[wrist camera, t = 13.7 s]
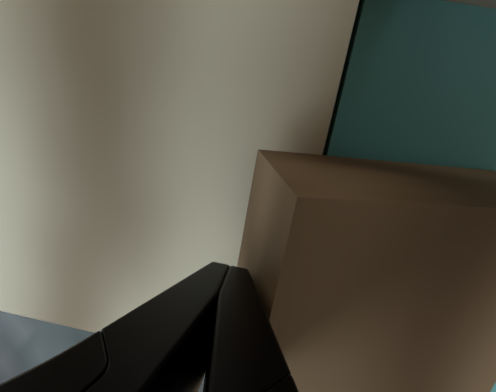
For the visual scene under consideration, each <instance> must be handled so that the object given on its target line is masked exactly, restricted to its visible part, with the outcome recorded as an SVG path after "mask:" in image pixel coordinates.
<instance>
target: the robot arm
mask: <svg viewBox="0 0 496 392" xmlns="http://www.w3.org/2000/svg"><path fill="white" fill-rule="evenodd" d="M205 372H206V373H205ZM204 375H205V379H204V387H203V392H299V391H298V389H297V386H296V384H295V381H294V379H293V377H292V376H291V372H290V370H289V367H288V365H287V362H286V360H285V357H284V355H283V353H282V350H281V348H280V345H279V343H278V341H277V338H276V336H275V333H274V331H273V328H272V326H271V324H270V321H269V319H268V316H267V314H266V311H265V309H264V307H263V304H262V302H261V299H260V297H259V294H258V292H257V290H256V287H255V285H254V282H253V280H252V277H251V275H250V273H249V270H248V269H246V268H242V267H237V266H229V265H227V264H223V263H218V262H211V263H209V264H208V265H206V266H204V267H203V268H201V269H199V270H198V271H196V272H194V273H193V274H191V275H189V276H188V277H186V278H185V279H183V280H181V281H180V282H178V283H176V284H175V285H173V286H171V287H170V288H168V289H167V290H165V291H163V292H162V293H160V294H158V295H157V296H155V297H153V298H152V299H150V300H148V301H147V302H145V303H144V304H142V305H140V306H139V307H137V308H135V309H134V310H132V311H130V312H129V313H127V314H126V315H124V316H122V317H121V318H119V319H117V320H116V321H114V322H112V323H111V324H109V325H107V326H106V327H104V328H103V329H102V330H101V331H97V332H96V333H94V334H92V335H91V336H89V337H87V338H86V339H84V340H83V341H81V342H79V343H77V344H76V345H74V346H72V347H70V348H69V349H67V350H65V351H63V352H62V353H60V354H58V355H57V356H55V357H53V358H51V359H49V360H47V361H45V362H43V363H41V364H39V365H37V366H35V367H33V368H31V369H30V370H28V371H26V372H24V373H22V374H20V375H18V376H16V377H14V378H12V379H10V380H7V381H5V382H3V383H1V384H0V392H198V390H199V387H200V385H201V382H202V380H203V377H204Z"/></svg>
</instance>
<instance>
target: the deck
mask: <svg viewBox="0 0 496 392" xmlns="http://www.w3.org/2000/svg"><path fill="white" fill-rule="evenodd" d="M358 4H359V0H0V311H3V312H8V313H12V314H16V315H21V316H25V317H29V318H34V319H38V320H42V321H47V322H51V323H55V324H60V325H64V326H68V327H73V328H77V329H81V330H86V331H90V332H94V333H96V332H97V331H101V330H102V329H103V328H104V327H106V326H107V325H109V324H111V323H112V322H114V321H116V320H117V319H119V318H121V317H122V316H124V315H126V314H127V313H129V312H130V311H132V310H134V309H135V308H137V307H139V306H140V305H142V304H144V303H145V302H147V301H148V300H150V299H152V298H153V297H155V296H157V295H158V294H160V293H162V292H163V291H165V290H167V289H168V288H170V287H171V286H173V285H175V284H176V283H178V282H180V281H181V280H183V279H185V278H186V277H188V276H189V275H191V274H193V273H194V272H196V271H198V270H199V269H201V268H203V267H204V266H206V265H208V264H209V263H211V262H218V263H223V264H227V265H229V266H237V264H238V258H239V253H240V247H241V241H242V236H243V230H244V225H245V219H246V213H247V208H248V202H249V196H250V191H251V185H252V180H253V174H254V168H255V163H256V157H257V151H258V149H260V150H271V151H282V152H294V153H305V154H316V155H322V154H323V150H324V146H325V142H326V138H327V133H328V129H329V125H330V121H331V117H332V113H333V108H334V104H335V100H336V96H337V92H338V88H339V83H340V79H341V75H342V71H343V67H344V63H345V58H346V54H347V50H348V46H349V42H350V37H351V33H352V29H353V25H354V21H355V17H356V12H357V8H358Z"/></svg>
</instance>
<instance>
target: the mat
mask: <svg viewBox="0 0 496 392" xmlns="http://www.w3.org/2000/svg"><path fill="white" fill-rule="evenodd" d="M323 155H327V156H338V157H349V158H360V159H371V160H382V161H393V162H404V163H416V164H427V165H438V166H449V167H460V168H471V169H482V170H493V171H496V9H494V8H488V7H482V6H475V5H469V4H463V3H457V2H450V1H444V0H360V1H359V5H358V9H357V13H356V17H355V21H354V26H353V30H352V34H351V38H350V42H349V46H348V51H347V55H346V59H345V63H344V67H343V71H342V76H341V80H340V84H339V88H338V92H337V96H336V101H335V105H334V109H333V113H332V117H331V122H330V126H329V130H328V134H327V138H326V142H325V147H324V151H323ZM490 392H496V382H495V384H494V386H493V388H492V390H491V391H490Z"/></svg>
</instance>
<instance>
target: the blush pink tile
mask: <svg viewBox="0 0 496 392" xmlns="http://www.w3.org/2000/svg"><path fill="white" fill-rule="evenodd" d="M444 1H450V2H457V3H463V4H469V5H475V6H482V7H488V8H494V9H496V0H444Z"/></svg>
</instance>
